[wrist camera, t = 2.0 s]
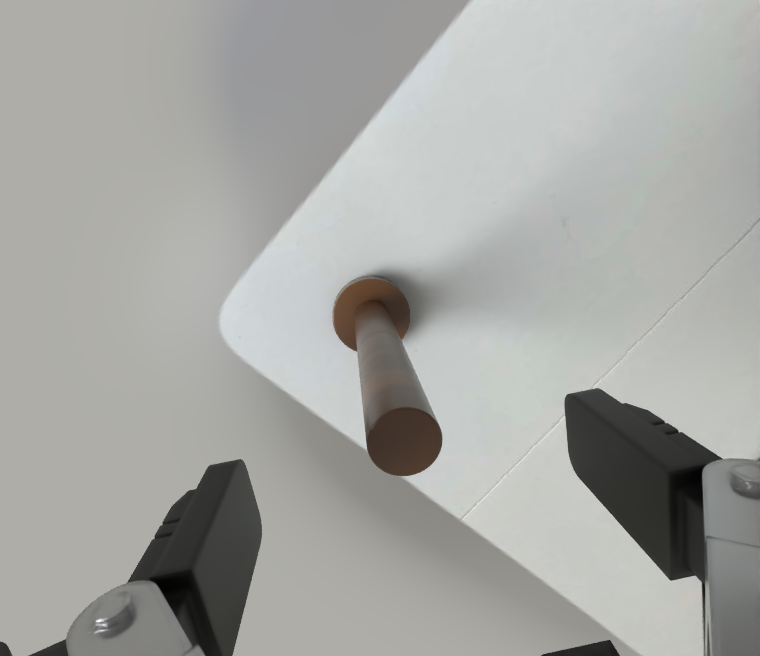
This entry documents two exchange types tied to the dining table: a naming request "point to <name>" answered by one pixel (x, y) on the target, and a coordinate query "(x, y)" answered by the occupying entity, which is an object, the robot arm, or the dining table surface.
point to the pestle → (387, 377)
